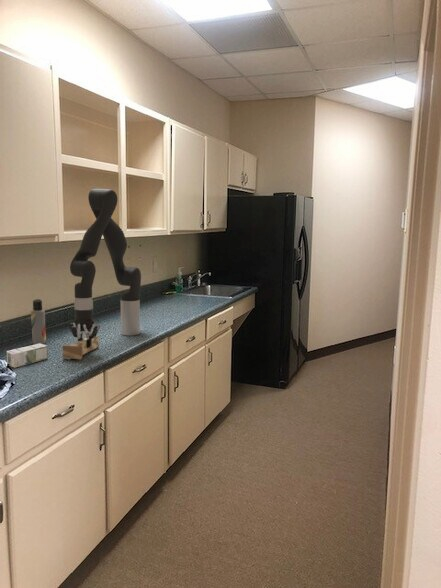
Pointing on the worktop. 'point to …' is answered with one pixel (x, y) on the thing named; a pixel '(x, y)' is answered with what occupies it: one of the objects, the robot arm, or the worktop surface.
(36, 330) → the lotion bottle
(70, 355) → the tan wooden block
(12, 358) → the syrup box
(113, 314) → the worktop surface
